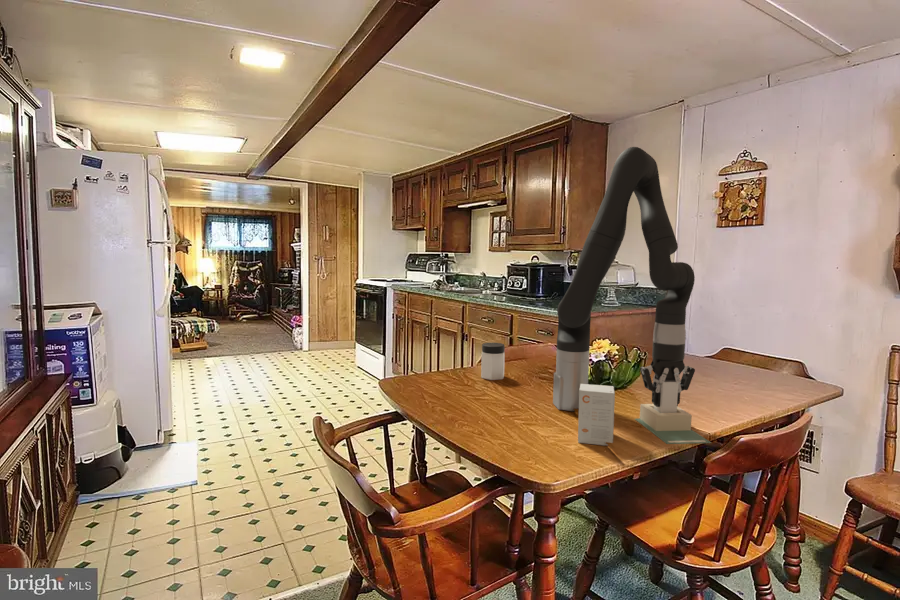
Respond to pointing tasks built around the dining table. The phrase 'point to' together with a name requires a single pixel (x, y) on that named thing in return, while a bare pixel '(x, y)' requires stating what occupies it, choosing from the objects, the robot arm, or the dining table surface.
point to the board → (676, 435)
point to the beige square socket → (665, 419)
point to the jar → (492, 361)
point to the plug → (668, 397)
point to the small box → (596, 414)
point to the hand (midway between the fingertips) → (665, 405)
